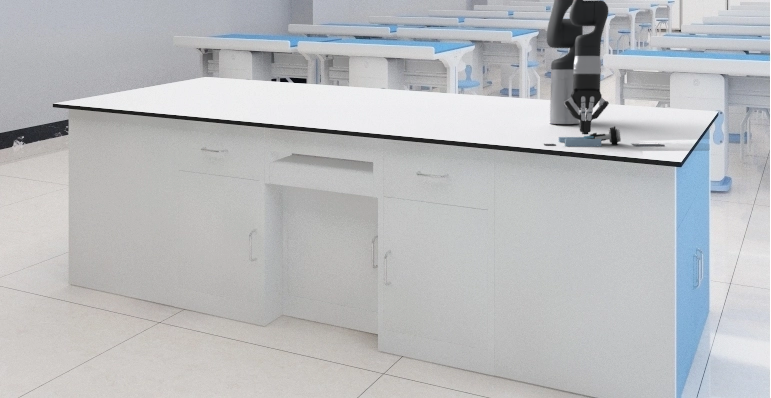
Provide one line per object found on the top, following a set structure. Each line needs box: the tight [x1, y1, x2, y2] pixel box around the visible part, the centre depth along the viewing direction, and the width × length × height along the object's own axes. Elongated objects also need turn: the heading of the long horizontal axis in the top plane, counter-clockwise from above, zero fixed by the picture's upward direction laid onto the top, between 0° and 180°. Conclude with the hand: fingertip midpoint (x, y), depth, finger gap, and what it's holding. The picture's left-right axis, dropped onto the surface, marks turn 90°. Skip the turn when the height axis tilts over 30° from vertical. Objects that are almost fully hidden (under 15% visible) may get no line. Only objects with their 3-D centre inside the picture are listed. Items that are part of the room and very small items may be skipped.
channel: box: [557, 136, 602, 147], centre depth 265 cm, size 10×10×2 cm
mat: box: [631, 143, 665, 147], centre depth 263 cm, size 8×8×1 cm
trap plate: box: [543, 143, 557, 146], centre depth 266 cm, size 5×3×1 cm, turn 1°
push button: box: [583, 125, 622, 146], centre depth 264 cm, size 7×5×10 cm
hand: (584, 134), depth 264 cm, fingers closed
